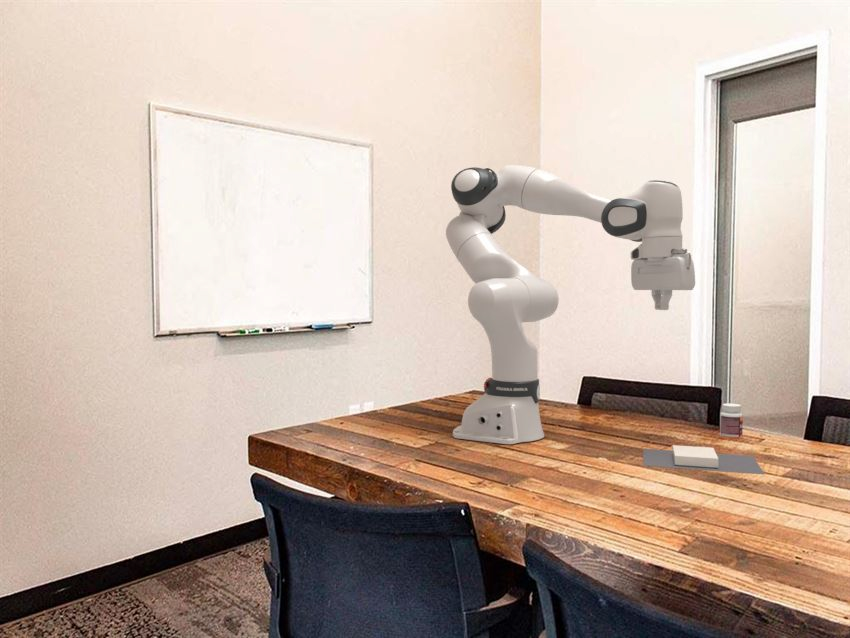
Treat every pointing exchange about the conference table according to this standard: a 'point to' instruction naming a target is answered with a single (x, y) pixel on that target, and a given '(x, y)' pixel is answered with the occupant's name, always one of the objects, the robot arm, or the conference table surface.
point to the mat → (724, 464)
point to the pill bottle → (731, 421)
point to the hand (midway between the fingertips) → (661, 309)
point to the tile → (695, 456)
